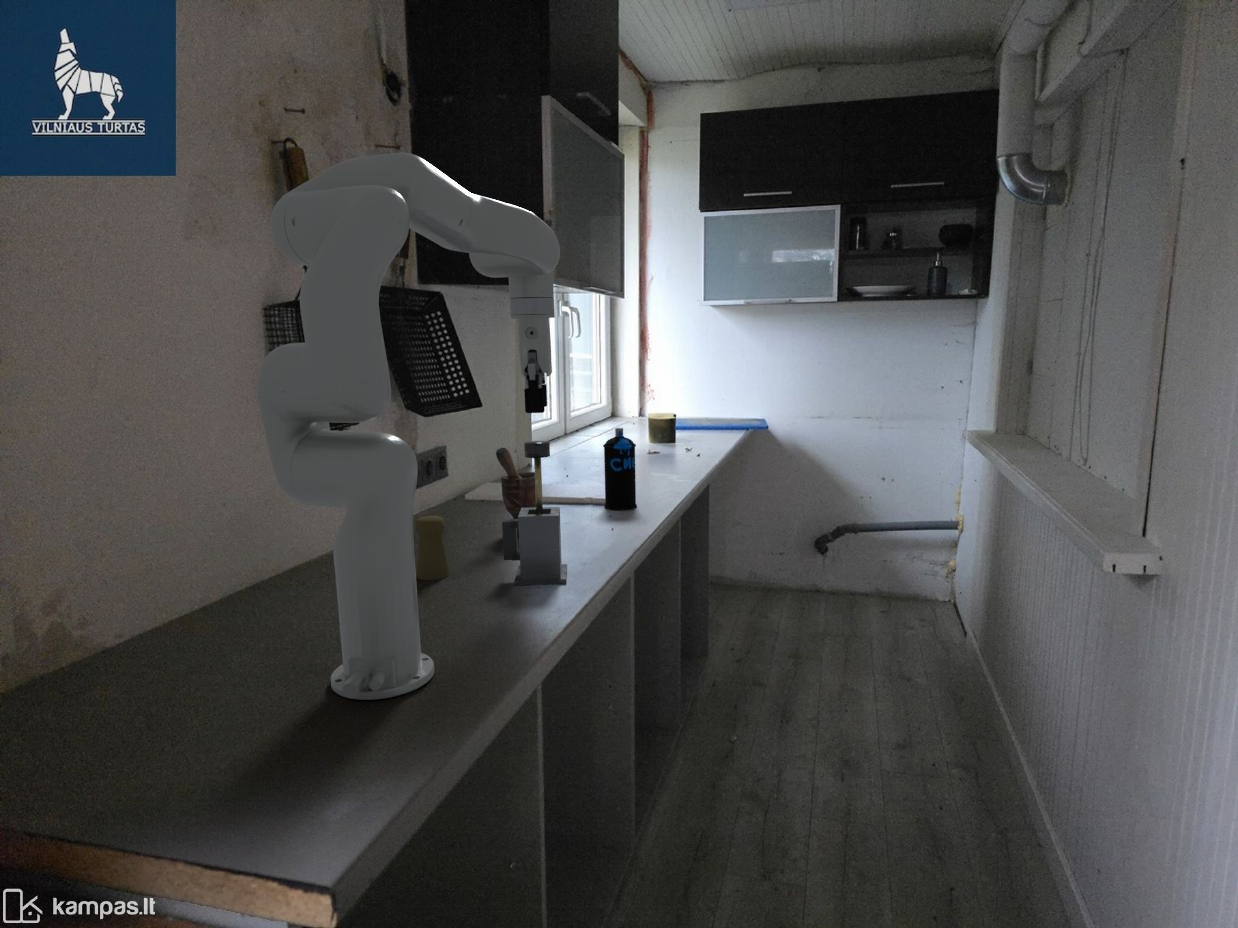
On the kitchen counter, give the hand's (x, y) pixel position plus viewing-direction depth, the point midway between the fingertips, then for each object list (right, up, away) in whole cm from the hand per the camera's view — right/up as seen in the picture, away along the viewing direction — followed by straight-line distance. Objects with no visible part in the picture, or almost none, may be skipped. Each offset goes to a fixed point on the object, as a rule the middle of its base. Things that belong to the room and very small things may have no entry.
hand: (536, 409), depth 133 cm
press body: (-1, -30, +5) cm, 30 cm away
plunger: (0, -20, +3) cm, 20 cm away
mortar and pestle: (-7, -25, +34) cm, 43 cm away
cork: (-20, -30, +7) cm, 37 cm away
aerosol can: (+15, -21, +60) cm, 65 cm away
